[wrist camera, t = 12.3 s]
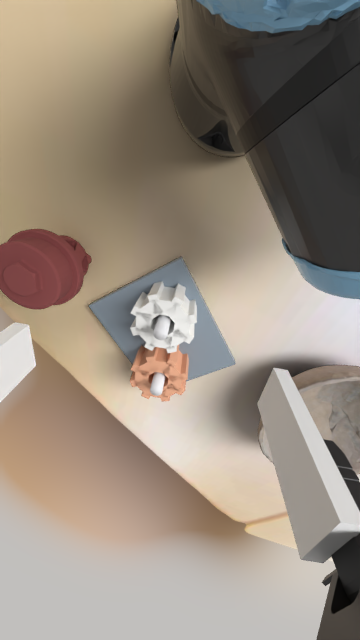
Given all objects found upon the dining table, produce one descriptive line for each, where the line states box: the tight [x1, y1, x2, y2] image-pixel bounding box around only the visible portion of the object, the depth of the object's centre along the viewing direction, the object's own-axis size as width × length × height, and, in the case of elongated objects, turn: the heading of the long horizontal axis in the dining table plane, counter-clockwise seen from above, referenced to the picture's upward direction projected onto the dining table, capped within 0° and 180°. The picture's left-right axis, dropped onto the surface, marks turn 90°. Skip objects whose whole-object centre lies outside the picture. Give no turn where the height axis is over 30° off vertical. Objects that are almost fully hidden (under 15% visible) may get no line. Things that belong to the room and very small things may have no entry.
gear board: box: [89, 256, 235, 396], centre depth 39 cm, size 18×22×10 cm
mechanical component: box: [0, 229, 91, 309], centre depth 32 cm, size 12×10×10 cm
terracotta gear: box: [130, 345, 189, 401], centre depth 42 cm, size 10×10×6 cm
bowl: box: [258, 365, 360, 475], centre depth 43 cm, size 26×26×10 cm
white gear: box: [130, 281, 197, 353], centre depth 36 cm, size 10×10×6 cm
